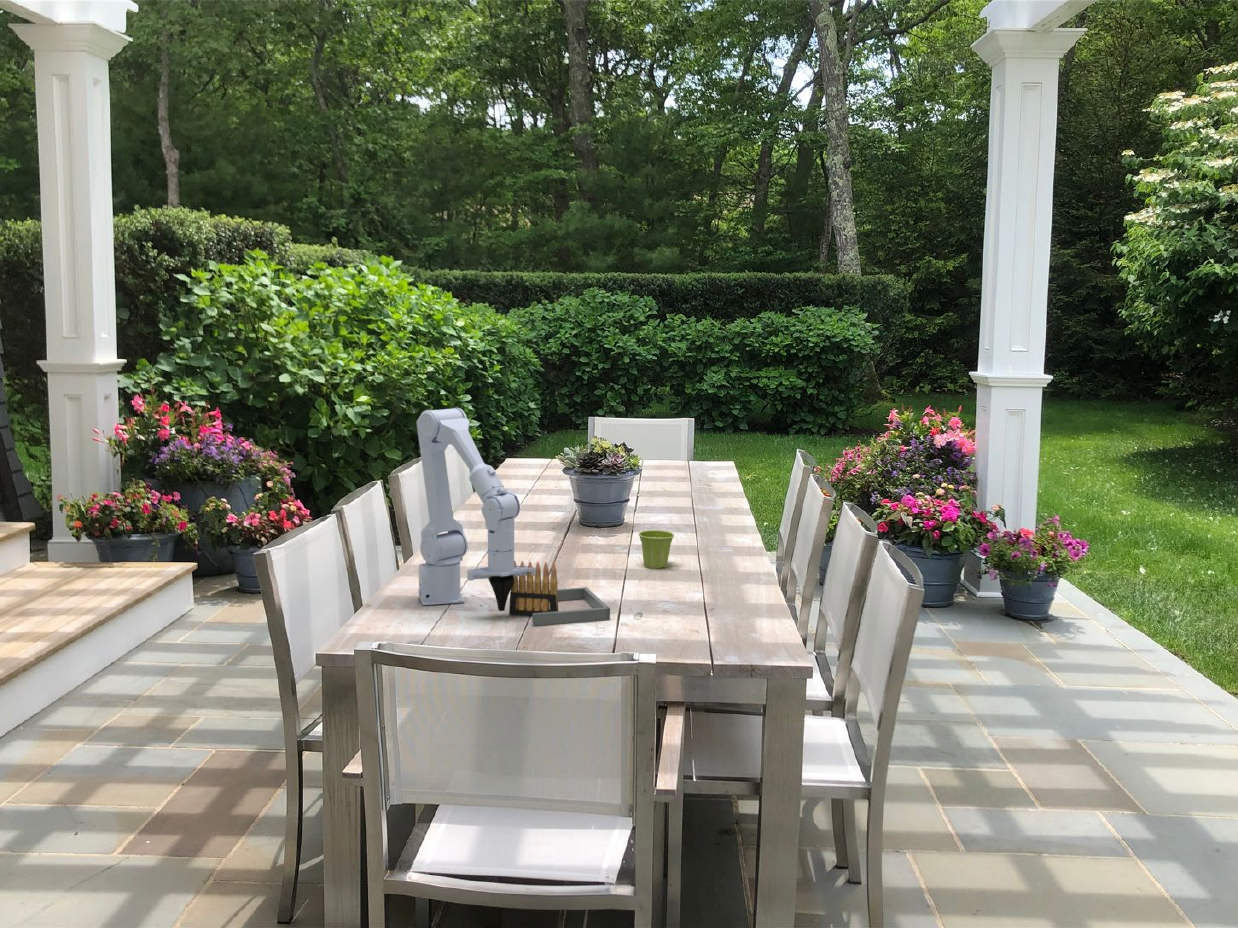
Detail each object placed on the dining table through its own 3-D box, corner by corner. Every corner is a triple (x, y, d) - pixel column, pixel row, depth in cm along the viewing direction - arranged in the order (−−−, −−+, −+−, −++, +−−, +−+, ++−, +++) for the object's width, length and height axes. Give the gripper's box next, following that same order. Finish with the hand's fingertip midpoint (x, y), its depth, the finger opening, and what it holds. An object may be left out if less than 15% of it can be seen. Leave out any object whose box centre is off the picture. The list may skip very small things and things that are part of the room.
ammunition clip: (509, 614, 228) (509, 561, 226) (511, 612, 229) (511, 559, 228) (556, 617, 226) (557, 563, 225) (558, 615, 228) (559, 561, 227)
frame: (533, 626, 220) (533, 614, 219) (515, 603, 237) (515, 592, 236) (609, 619, 225) (610, 608, 225) (586, 597, 242) (586, 587, 242)
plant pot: (674, 562, 277) (675, 530, 275) (672, 571, 267) (673, 538, 266) (639, 561, 278) (640, 529, 276) (636, 569, 268) (637, 537, 267)
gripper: (470, 555, 218) (471, 617, 220) (538, 551, 223) (537, 612, 225) (465, 547, 225) (465, 608, 227) (530, 543, 230) (530, 603, 232)
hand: (501, 609), depth 226 cm, fingers closed
